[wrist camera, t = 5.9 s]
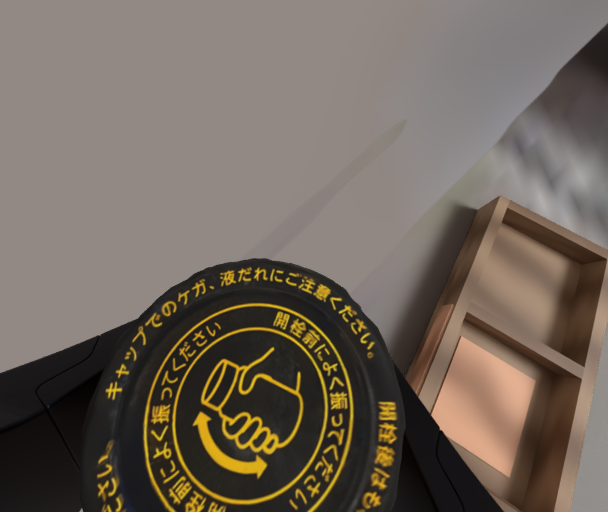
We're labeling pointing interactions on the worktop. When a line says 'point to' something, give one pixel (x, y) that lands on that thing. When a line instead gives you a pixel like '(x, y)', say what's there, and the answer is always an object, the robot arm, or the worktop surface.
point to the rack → (517, 354)
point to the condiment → (246, 401)
